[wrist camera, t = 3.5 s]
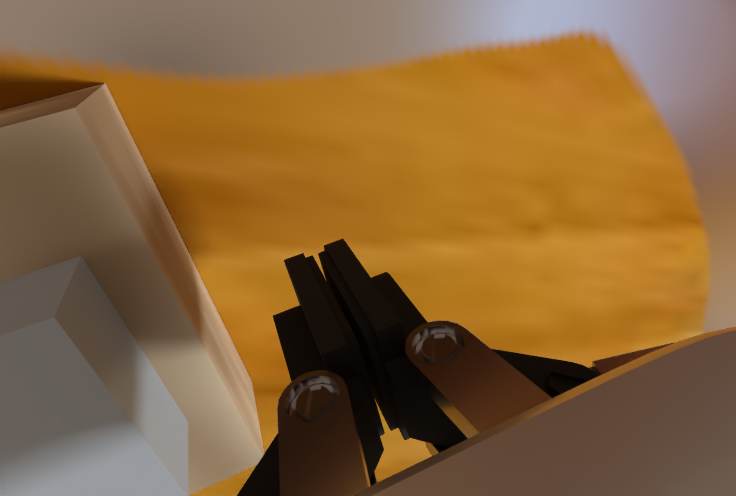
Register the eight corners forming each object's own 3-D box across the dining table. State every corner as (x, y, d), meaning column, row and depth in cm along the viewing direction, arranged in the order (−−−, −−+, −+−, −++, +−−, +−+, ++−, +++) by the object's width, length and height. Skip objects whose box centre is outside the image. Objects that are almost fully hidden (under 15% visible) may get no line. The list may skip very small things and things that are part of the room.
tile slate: (-33, 514, 12) (-79, 618, 10) (-229, 358, 9) (-355, 460, 7) (188, 422, 13) (188, 497, 11) (81, 255, 10) (53, 317, 8)
